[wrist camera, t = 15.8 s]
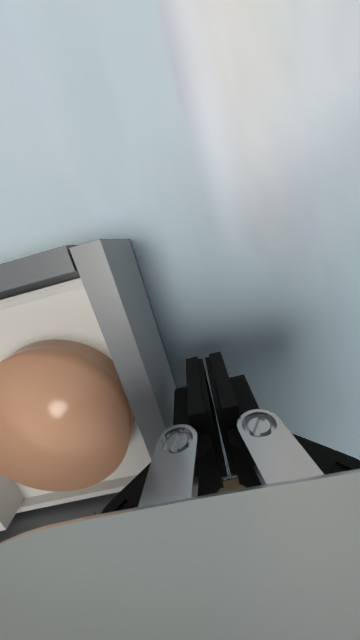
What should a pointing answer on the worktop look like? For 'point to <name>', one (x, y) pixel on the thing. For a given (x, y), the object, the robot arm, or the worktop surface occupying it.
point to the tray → (105, 336)
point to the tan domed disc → (61, 416)
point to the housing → (19, 280)
